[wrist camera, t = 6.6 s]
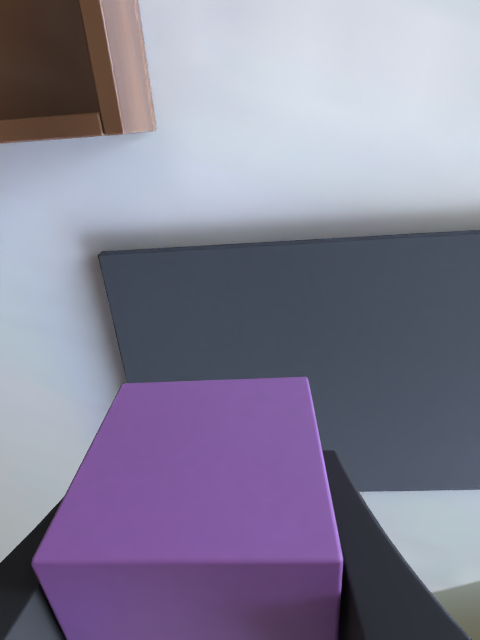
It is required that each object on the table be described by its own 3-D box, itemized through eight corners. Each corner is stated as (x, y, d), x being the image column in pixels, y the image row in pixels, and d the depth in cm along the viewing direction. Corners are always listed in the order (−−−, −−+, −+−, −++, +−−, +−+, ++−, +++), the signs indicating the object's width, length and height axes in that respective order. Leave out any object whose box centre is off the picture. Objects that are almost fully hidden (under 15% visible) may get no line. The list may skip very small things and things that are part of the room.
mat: (154, 488, 23) (152, 495, 23) (101, 251, 17) (97, 254, 17) (518, 481, 22) (523, 489, 21) (601, 222, 16) (612, 225, 15)
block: (152, 510, 13) (97, 711, 9) (121, 382, 11) (27, 563, 6) (307, 507, 13) (334, 715, 8) (307, 375, 11) (344, 561, 6)
